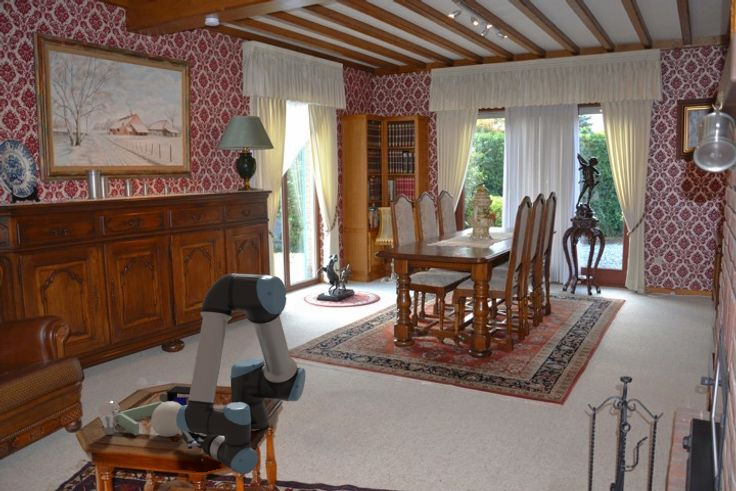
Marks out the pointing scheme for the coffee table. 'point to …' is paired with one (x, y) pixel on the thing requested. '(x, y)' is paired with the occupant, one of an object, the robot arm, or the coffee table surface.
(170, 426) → the ball
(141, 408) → the green u-shaped channel
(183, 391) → the figurine character
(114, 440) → the coffee table surface
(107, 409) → the light bulb
